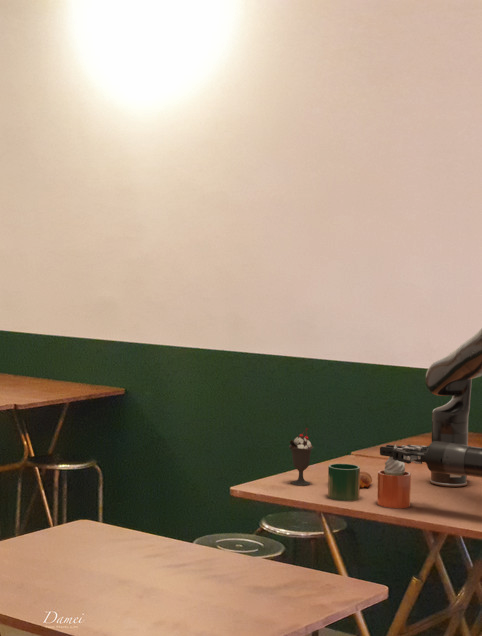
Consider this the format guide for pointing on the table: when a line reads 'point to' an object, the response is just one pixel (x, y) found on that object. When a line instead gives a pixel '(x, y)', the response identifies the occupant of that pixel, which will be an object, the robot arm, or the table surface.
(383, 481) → the cup
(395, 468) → the ice cream cone
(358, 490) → the stand
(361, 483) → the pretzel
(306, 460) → the sundae
